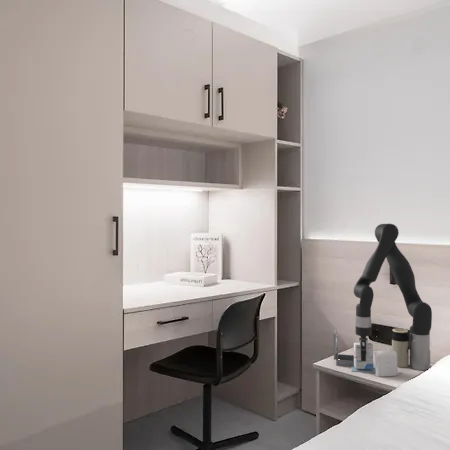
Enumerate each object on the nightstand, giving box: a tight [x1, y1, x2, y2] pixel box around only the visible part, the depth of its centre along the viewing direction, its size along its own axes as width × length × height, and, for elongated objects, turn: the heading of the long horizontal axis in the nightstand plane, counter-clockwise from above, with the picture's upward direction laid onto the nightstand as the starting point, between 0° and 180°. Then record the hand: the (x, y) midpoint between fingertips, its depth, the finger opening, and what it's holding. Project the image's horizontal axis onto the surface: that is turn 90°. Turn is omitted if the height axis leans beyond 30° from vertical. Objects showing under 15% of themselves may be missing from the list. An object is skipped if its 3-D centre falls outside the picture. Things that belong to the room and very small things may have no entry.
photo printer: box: [374, 348, 398, 377], centre depth 227 cm, size 10×4×12 cm, turn 96°
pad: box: [351, 366, 376, 374], centre depth 234 cm, size 11×7×1 cm, turn 74°
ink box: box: [353, 342, 374, 369], centre depth 234 cm, size 9×5×12 cm, turn 84°
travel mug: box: [391, 327, 410, 368], centre depth 241 cm, size 8×8×18 cm
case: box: [333, 328, 354, 368], centre depth 245 cm, size 16×11×16 cm
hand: (363, 359), depth 234 cm, fingers closed on ink box, 5 cm apart
